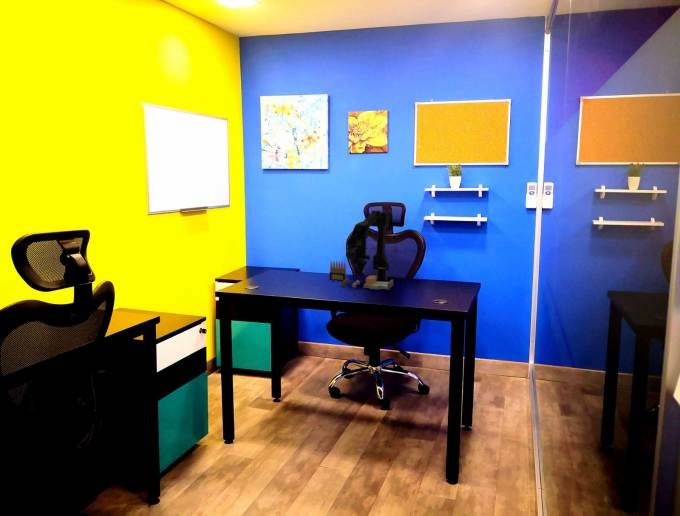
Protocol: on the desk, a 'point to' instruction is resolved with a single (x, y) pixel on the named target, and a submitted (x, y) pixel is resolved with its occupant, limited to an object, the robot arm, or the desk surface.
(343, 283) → the trap board
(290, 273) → the desk surface
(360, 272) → the robot arm
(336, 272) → the ammunition clip
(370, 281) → the block
